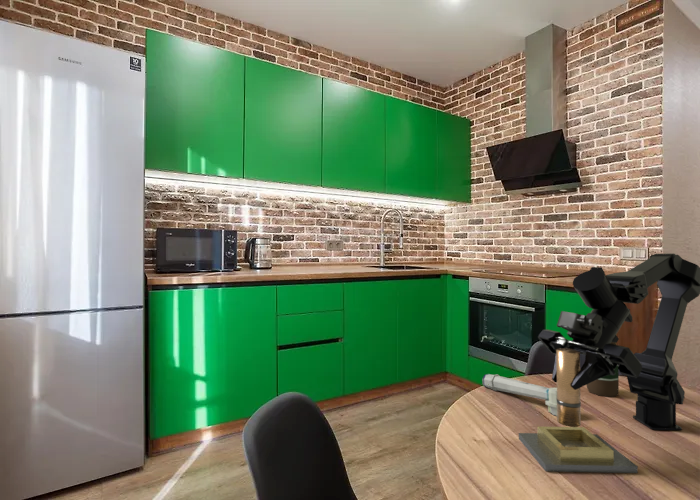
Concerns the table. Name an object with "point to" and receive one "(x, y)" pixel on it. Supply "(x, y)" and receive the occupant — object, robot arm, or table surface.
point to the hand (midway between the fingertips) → (563, 384)
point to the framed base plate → (574, 451)
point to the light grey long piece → (523, 389)
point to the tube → (568, 387)
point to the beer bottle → (605, 384)
